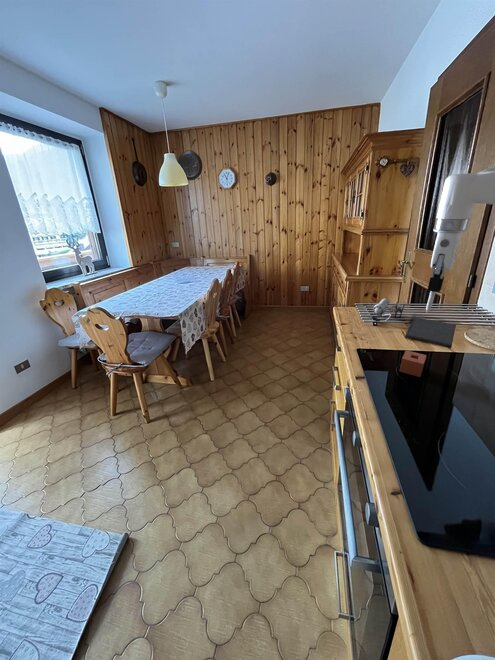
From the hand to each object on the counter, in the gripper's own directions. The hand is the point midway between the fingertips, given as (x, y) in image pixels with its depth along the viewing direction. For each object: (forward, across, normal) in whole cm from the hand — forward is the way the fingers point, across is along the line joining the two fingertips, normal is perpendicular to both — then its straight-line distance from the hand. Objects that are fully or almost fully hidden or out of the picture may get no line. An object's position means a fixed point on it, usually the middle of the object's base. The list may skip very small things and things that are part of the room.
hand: (434, 289), depth 85 cm
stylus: (+8, 0, 0) cm, 8 cm away
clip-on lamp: (+26, +32, +18) cm, 45 cm away
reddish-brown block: (+25, -6, 0) cm, 26 cm away
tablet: (+25, +26, -1) cm, 36 cm away
